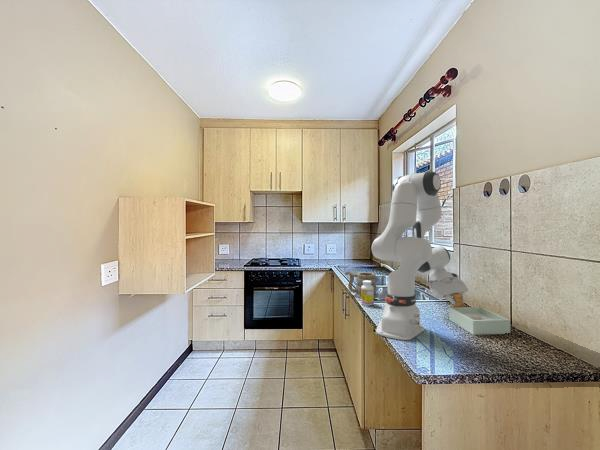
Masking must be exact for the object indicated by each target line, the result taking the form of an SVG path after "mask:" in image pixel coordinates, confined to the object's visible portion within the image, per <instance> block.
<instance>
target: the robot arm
mask: <svg viewBox="0 0 600 450" xmlns="http://www.w3.org/2000/svg"><path fill="white" fill-rule="evenodd" d="M441 181H442V180H441V177H440V175H439V174H438V173H437V172H435V171H425V172H418V173H410V174H405V175H404V176H398V177H396V178H395V179H394V180H393V181H392V183H391V184H392V185H391V189H392V195H391V201H390V210H389V217H388V223H387V224H386V227H385V229H384V230H383V232H382V233H381V234H379V236H378V237H376V238H375V239H374V240H373V242H372V244H371V253H372V255H373V257H374V258H376V259H378V260H380V261H384V262H396V263H397V262H398V263H399V268H397V269H395V270H393V271H391V272H390V273H389V274H388V276H387V292H386V296H385V303H384V308H383V311H382V315H381V319H380V320H379V323H378V325H377V327H376V330H375V334H377V335H379V336H381V337H386V338H390V339H395V340H399V341H400V340H402V341H411V340H412V339H414V338H416V337H417V336H418V335H420V334H421V333H423V332H424V331H425V326H423V325H422V324H421V313H420V312H421V311H420V308H419V307H418V306H417V304H416V303H417V301H416V300H417V297H416V295H417V294H415V293H416V292H415V290H416V289H415V287H416V286H415V285H416V284H415V281H416V276H417V273H418V272H419V273H426V274H427V275H428V276H429V279H430V280H428V283H427V284H428V286H429V289H430V292H431V293H432V295H433V297H434V298H435V299H446V300H447V301H449V302H450V303H451V304H452V306H453V305H454V304H456V303H457V302H456V300H454V299H453V294H455V293H458V294H462V295H463V296H464V295H466V294H467V293H468V292H469V288H468V286H467V284H465V282H464V281H463V280H462V279H461V278H460V276H459V274H458V273H454V272H450V271H447V269H446V268H445V266H447V265H448V264H449V263H450V261H451V254H450V252H449V251H448V250H447V249H446V248H445V247H444V246H436V247H433V246H432V244H431V243H430V241H429V240H428V239H426V238H425V235H426V233H427V232H428V231H429V230H430V229H432V228H433V227H434V226H435V225H436V224H438V222H439V221H440V220H441V218H442V215H443V214H442V213H443V211H442V205H441V201H440V197H439V193H438V192H439V191H440V190H441V186H442V182H441ZM409 229H411V230H412V231H411V232H412V233H411V234H412V236H403V234H405V232H406V231H408V230H409ZM432 247H433V248H432ZM464 303H466V300H465V299H464V298H463V304H464Z"/></svg>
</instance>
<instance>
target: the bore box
mask: <svg viewBox="0 0 600 450" xmlns="http://www.w3.org/2000/svg"><path fill="white" fill-rule="evenodd" d="M448 311H449V313H448V318H449V321H451V322H452V323H454V324H456V325H457V326H459V327H460V328H461V329H463V330H465V331H467V332H468V333H469V334H472V335H473V336H475V335H477V336H478V335H508V333H510V334H511V319H509V318H507V317H504V316H502V315H501V314H498V313H496V312H494V311H491V310H489V309H487V308H484V307H482V306H467V307H466V306H463V307H459V308H453V307H449V309H448ZM505 333H507V334H505Z"/></svg>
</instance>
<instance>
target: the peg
mask: <svg viewBox="0 0 600 450" xmlns="http://www.w3.org/2000/svg"><path fill="white" fill-rule="evenodd" d="M452 298H453V299H454V300H456V302H457V303H456V304H454V305H453V304H452V306H453V307H452V308H459V307H464V303H463V299H464V294H463V295H462V294H458V293H455V294H453V296H452Z"/></svg>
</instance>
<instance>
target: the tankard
mask: <svg viewBox="0 0 600 450" xmlns="http://www.w3.org/2000/svg"><path fill="white" fill-rule="evenodd" d="M344 275H345V276H347V275H349V281H348V284H347V285H348V290H349V291H350V292H351V293H354V297H356V298H357V299H359V298H360V300H361V287H362V286H363V281H365V280H369V281H371V285H372V286H373V295H374V300H376V299H378V298H379V294H378V293H376V291H377V290H378V288H377V287H378V286H377V284H376V283H377V282H378V281H377V280H378V278H376V273H374V272H358V273H353V272H351V271H349V270H348V271H346V272H344ZM354 278H355V281H356V283H357V284H356V287H355V289H354V288H353V283H354Z"/></svg>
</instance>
